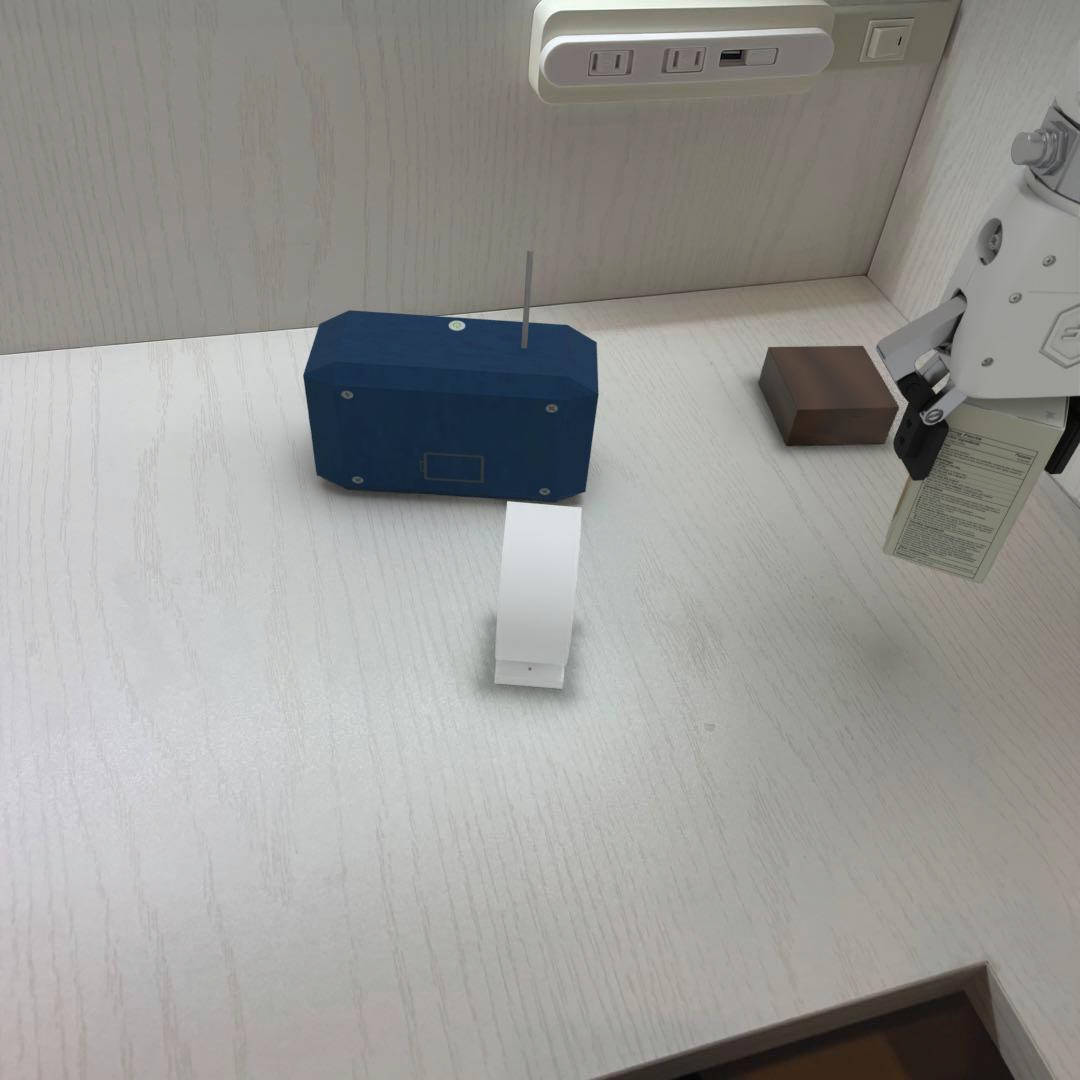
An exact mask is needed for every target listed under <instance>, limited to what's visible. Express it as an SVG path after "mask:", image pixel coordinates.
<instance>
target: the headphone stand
mask: <svg viewBox="0 0 1080 1080" xmlns="http://www.w3.org/2000/svg"><path fill="white" fill-rule="evenodd" d="M582 512H583V507H581V506H569V505H568V506H567V505H556V504H545V503H544V504H542V503H533V502H520V501H511V500H507V502H506V511H505V520H504V529H503V540H502V542H503V543H502V552H501V553H502V554H501V564H500V576H499V588H498V599H497V600H498V601H497V602H498V603H497V616H496V631H495V650H494V651H495V652H494V653H495V654H494V655H495V657H494V660H495V670H494V683H493V684H496V685H497V684H499V685H510V686H511V685H512V686H521V687H535V688H545V689H558V690H563V689H564V682H565V666H567V664H568V661H569V655H570V649H571V642H572V634H573V625H574V617H575V608H576V607H575V606H576V597H577V586H578V575H579V560H580V549H581V547H580V546H581V531H582Z"/></svg>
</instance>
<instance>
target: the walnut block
mask: <svg viewBox="0 0 1080 1080" xmlns="http://www.w3.org/2000/svg"><path fill="white" fill-rule="evenodd" d="M758 385H759V388H760V389H761V392H762V394H763V397H764V399H765V401H766V403H767V405H768V408H769V410H770V412H771V414H772V417H773V419H774V421H775V424H776V426H777V429H778V430H779V433H780V435H781V437H782V440H783V442H784V445H785V446H786V447H790V446H791V447H793V446H795V447H796V446H825V445H826V446H828V445H829V446H830V445H831V446H832V445H867V444H874V445H875V444H885V443H886V441H887V439H888V436H889V434H890V432H891V429H892V427H893V424H894V422H895V419H896V418H897V414H898V412H899V410H900V405H899V404H898V402H897V400H896V399H895V397H894V396H893V394H892V392H891V390H890V388H889V387H888V385H887V383H886V382H885V380H884V379H883V377H882V375H881V373H880V372H879V370H878V368H877V367H876V365H875V363H874V361H873V360H872V357H870V355H869V352H868V351H867V350H866V347H865V346H864V345H817V346H815V345H814V346H813V345H811V346H810V345H808V346H768V347H767V350H766V354H765V358H764V361H763V365H762V368H761V372H760V375H759V378H758Z"/></svg>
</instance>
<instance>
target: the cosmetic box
mask: <svg viewBox="0 0 1080 1080" xmlns="http://www.w3.org/2000/svg"><path fill="white" fill-rule="evenodd" d="M950 381H951V379H950V375H948V378H947V381H946V384H947V383H949V382H950ZM946 384H945V385H946ZM1068 407H1069V396H1063V397H1036V398H1005V399H980V398H973V397H969V396H968V397H967V398H966V399H965V400H964V401H963V402H962V403H961V404H959V405H958V406H957V407H956V408H955V409H954V410H953V411H952V412H951V413H950V414H948V415H947V416H946V417H945V418H944V419H945V420H946V422H947V423H948V425H949V432H948V434H947V436H946V438H945V441H944V443H943V445H942V447H941V449H940V451H939V454H938V456H937V458H936V460H935V462H934V465H933V467H932V469H931V471H930V473H929V476H928V477H927V478H925V480H921V481H913V480H912V478H911V477H910V475H909V474H908V476H907V479H906V482H905V484H904V486H903V488H902V491H901V494H900V497H899V499H898V501H897V504H896V507H895V508H894V511H893V514H892V517H891V519H890V523H889V526H888V529H887V532H886V534H885V535H886V536H885V539H884V542H883V546H882V552H883V554H884V555H887V556H891V557H893V558H896V559H899V560H902V561H905V562H908V563H911V564H914V565H918V566H920V567H924V568H927V569H930V570H932V571H933V570H934V571H936V572H940V573H942V574H946V575H950V576H952V577H956V578H960V579H963V580H966V581H969V582H973V583H976V584H980V585H982V584H984V582H985V580H986V579H987V577H988V575H989V573H990V571H991V569H992V567H993V566H994V563H995V562H996V560H997V558H998V557H999V554H1000V553H1001V551H1002V548H1003V547H1004V545H1005V543H1006V542H1007V539H1008V538H1009V536H1010V533H1012V530H1013V528H1014V526H1015V525H1016V522H1017V520H1018V519H1019V517H1020V515H1021V513H1022V511H1023V509H1024V507H1025V506H1026V503H1027V501H1028V500H1029V498H1030V497H1031V494H1032V492H1033V490H1034V489H1035V487H1036V485H1037V483H1038V481H1039V479H1040V477H1041V475H1042V474H1043V472H1044V471H1045V470H1044V468H1045V466H1046V464H1047V462H1048V460H1049V458H1050V456H1051V455H1052V453H1053V451H1054V449H1055V447H1056V445H1057V443H1058V442H1059V440H1060V438H1061V436H1062V434H1063V432H1064V430H1065V426H1066V421H1067V414H1068Z"/></svg>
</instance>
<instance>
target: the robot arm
mask: <svg viewBox="0 0 1080 1080" xmlns="http://www.w3.org/2000/svg"><path fill="white" fill-rule="evenodd" d="M1010 158H1011V161H1012V163H1013V164H1014V165H1015V166H1024V167H1022V168H1017V169H1014V170H1012V172H1011V173H1010V174H1009V176H1008V178H1007V179H1006V180H1005V182H1004V183H1003V184H1002V186H1001V187H1000V189H999V190H998V192H997V194H996V195H995V197H994V198H993V199H992V201H991V203H990V205H989V206H988V208H987V209H986V211H985V212H984V214H983V216H982V217H981V219H980V221H979V223H977V226H976V227H975V229H974V231H973V233H972V235H971V237H970V239H969V241H968V242H967V245H966V246H965V248H964V249H963V251H962V254H961V256H960V257H959V259H958V261H957V263H956V265H955V268H954V270H953V272H952V273H951V276H950V278H949V281H948V282H947V285H946V288H945V289H944V291H943V294H942V295H941V298H940V300H939V303H938V305H937V306H936V307H935V308H934V309H932V310H930V311H929V312H927V313H924V314H923V315H922V316H919V317H918V318H917V319H914V320H912V321H911V322H910V323H907V324H906V325H904V326H902V327H900V328H899V329H897V330H896V331H894V332H892V333H890V334H888V335H886V336H884V337H883V338H882V339H880V340H879V341H878V342H877V344H876V346H875V349H876V350H875V351H876V352H877V354H878V356H879V357H880V359H881V361H882V363H883V365H884V367H885V369H886V370H887V372H888V374H889V376H890V377H891V379H892V381H893V382H894V384H895V386H896V387H897V389H898V390H899V392H900V394H901V396H902V397H903V398H904V399H905V400H906V401H907V406H906V408H905V411H904V413H903V415H902V418H901V420H900V423H899V425H898V428H897V430H896V433H895V435H894V437H893V445H892V446H893V451H894V453H895V454H896V457H898V459H899V460H901V462H902V464H903V466H904V467H905V469H906V471H907V473H908V476H909V475H910V477H911V478H912V480H913V481H921V480H925V478H927V477H928V476H929V473H930V471H931V469H932V467H933V465H934V462H935V460H936V458H937V456H938V454H939V451H940V449H941V447H942V445H943V443H944V441H945V438H946V436H947V434H948V432H949V425H948V423H947V422H946V420H945V419H944V418H945V417H946V416H947V415H948V414H950V413H951V412H952V411H953V410H954V409H955V408H956V407H957V406H958V405H959V404H961V403H962V402H963V401H964V400H965V399H966V398H967V397H968V396H969V397H973V398H980V399H1005V398H1036V397H1063V396H1069V407H1068V414H1067V421H1066V426H1065V430H1064V432H1063V434H1062V436H1061V438H1060V440H1059V442H1058V443H1057V445H1056V447H1055V449H1054V451H1053V453H1052V455H1051V456H1050V458H1049V460H1048V462H1047V464H1046V466H1045V468H1044V470H1043V471H1045V472H1046V473H1048V474H1049V475H1061V474H1062V473H1063V472H1064V470H1065V469H1066V467H1067V466H1068V464H1069V462H1070V460H1071V458H1072V457H1073V455H1074V454H1075V452H1076V450H1077V448H1078V447H1079V445H1080V38H1079V39H1078V41H1077V44H1076V47H1075V49H1074V51H1073V54H1072V55H1071V59H1070V61H1069V64H1068V65H1067V68H1066V70H1065V73H1064V76H1063V78H1062V80H1061V83H1060V85H1059V87H1058V90H1057V92H1056V95H1055V96H1054V98H1053V101H1052V103H1051V106H1049V107H1048V109H1047V111H1046V114H1045V117H1044V119H1043V121H1042V123H1041V126H1040V128H1036V129H1035V130H1033V131H1021V132H1019V133H1018V134H1017V135H1016V136H1015V137H1014V140H1013V142H1012V145H1011V148H1010ZM930 351H936V352H935V353H934V354H933V355H932V356H931V357H930V358H929V359H928V360H927V361H926V362H924V364H922V366H920V367H919V368H917V367H916V362H917V360H918V359H919V358H921V357H922V356H924V355H925V354H927V353H928V352H930ZM948 374H949V376H950V379H951V381H950V382H949V383H947V382H946V383H947V384H945V385H944V386H943V387H942V388H941V389H940V390H939V391H938V392H937V393H936V391H935V390H934V389H933V388H934V387H935V386H936V385H937V384H939V383H940V381H942V380H943V379H944V378H945V377H946V376H947V375H948Z"/></svg>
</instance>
